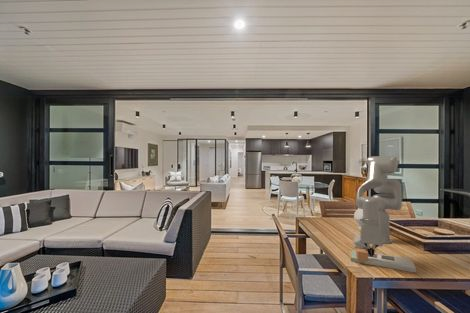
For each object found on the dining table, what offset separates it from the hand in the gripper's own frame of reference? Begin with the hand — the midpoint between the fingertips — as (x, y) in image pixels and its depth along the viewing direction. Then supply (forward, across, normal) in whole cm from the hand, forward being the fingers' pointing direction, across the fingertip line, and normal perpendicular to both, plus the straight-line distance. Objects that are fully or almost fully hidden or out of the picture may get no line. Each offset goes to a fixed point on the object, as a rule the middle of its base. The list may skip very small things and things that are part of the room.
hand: (371, 255), depth 130 cm
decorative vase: (+4, -1, +73) cm, 73 cm away
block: (+2, -4, -2) cm, 5 cm away
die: (+4, -5, +21) cm, 22 cm away
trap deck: (+4, +5, +4) cm, 7 cm away
